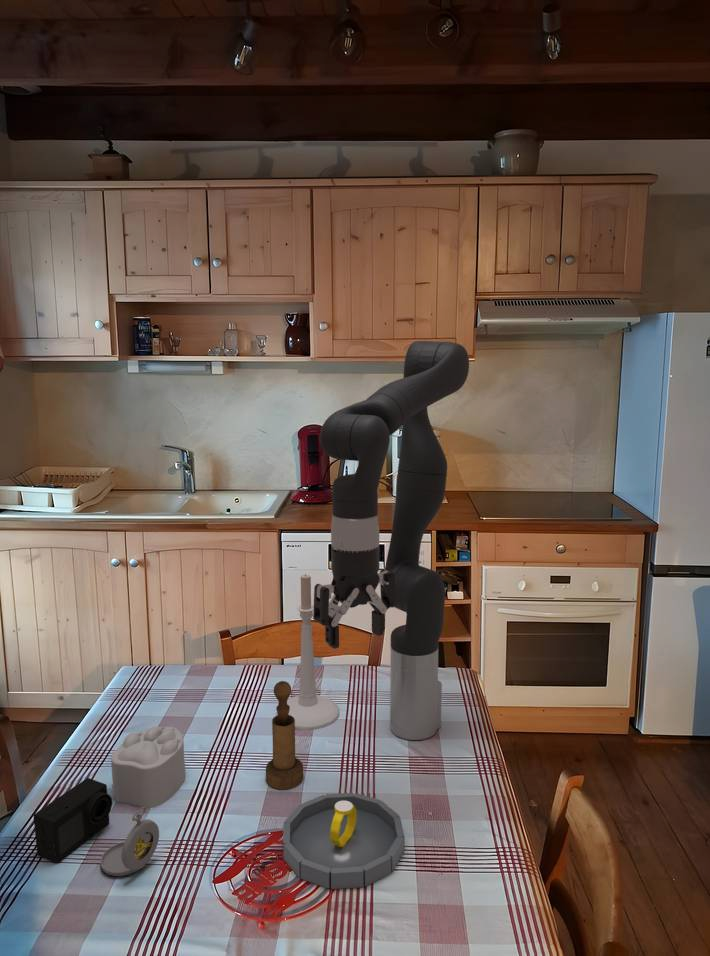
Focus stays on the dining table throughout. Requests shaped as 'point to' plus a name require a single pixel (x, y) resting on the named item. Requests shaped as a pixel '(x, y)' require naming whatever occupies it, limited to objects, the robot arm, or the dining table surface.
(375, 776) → the dining table surface
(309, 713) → the candlestick
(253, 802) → the dining table surface
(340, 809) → the watch
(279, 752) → the mortar and pestle
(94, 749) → the dining table surface
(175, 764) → the lumpy-topped squat cylinder
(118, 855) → the pocket watch
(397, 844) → the round dish
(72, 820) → the digital camera
